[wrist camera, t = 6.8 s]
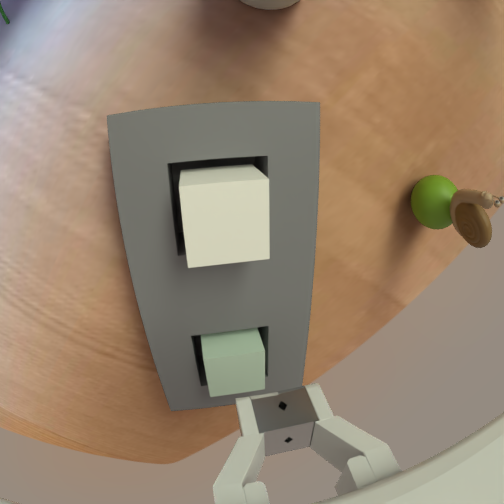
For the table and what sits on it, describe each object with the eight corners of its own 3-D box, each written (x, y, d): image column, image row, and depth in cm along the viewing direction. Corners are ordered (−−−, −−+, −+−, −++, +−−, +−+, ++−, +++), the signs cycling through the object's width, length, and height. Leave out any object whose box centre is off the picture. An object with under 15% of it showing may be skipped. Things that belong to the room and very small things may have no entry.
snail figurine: (429, 153, 28) (518, 185, 17) (440, 204, 31) (519, 248, 20) (392, 174, 28) (481, 216, 18) (407, 226, 31) (484, 280, 20)
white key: (251, 164, 22) (269, 179, 17) (253, 229, 24) (269, 258, 20) (180, 170, 21) (178, 186, 17) (187, 236, 23) (188, 268, 19)
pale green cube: (252, 314, 29) (265, 350, 25) (254, 353, 31) (264, 389, 27) (199, 321, 28) (203, 359, 24) (205, 359, 31) (210, 397, 26)
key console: (296, 102, 24) (319, 102, 19) (288, 361, 36) (301, 392, 31) (122, 114, 21) (106, 115, 17) (170, 377, 34) (171, 410, 29)
